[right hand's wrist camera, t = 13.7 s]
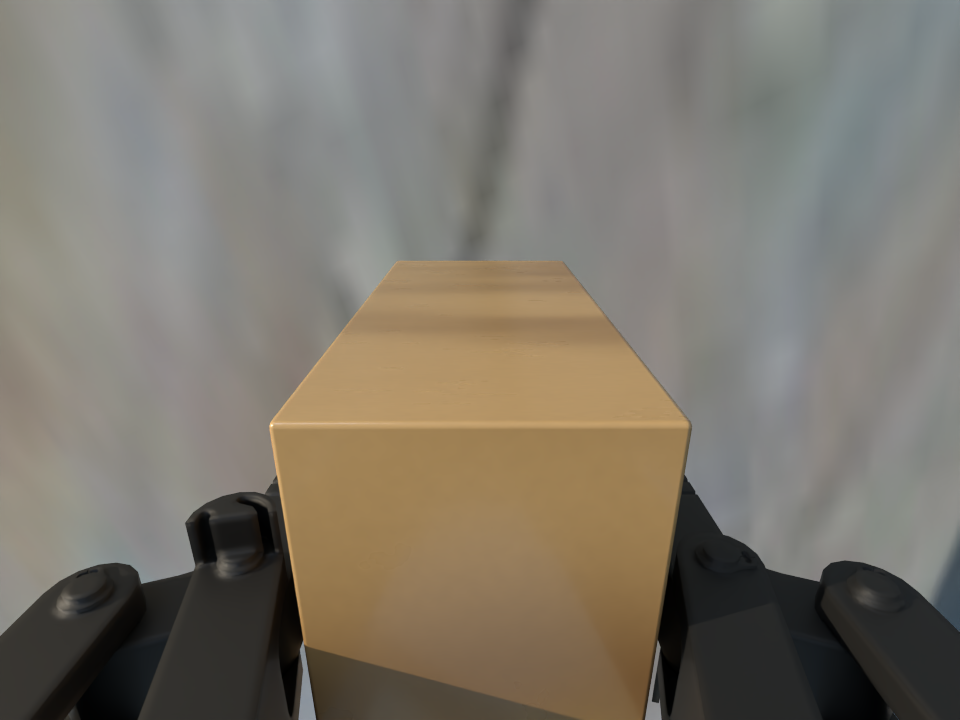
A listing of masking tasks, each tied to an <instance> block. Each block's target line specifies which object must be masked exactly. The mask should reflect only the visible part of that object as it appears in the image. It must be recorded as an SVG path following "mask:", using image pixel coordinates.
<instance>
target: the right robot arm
mask: <svg viewBox="0 0 960 720" xmlns="http://www.w3.org/2000/svg"><path fill="white" fill-rule="evenodd" d="M185 524H186V528H187V532H188V536H189V541H190V545H191V549H192V553H193V557H194V561H195V565H196V566H195V569H194V571H192V572H189V573H186V574H182V575H179V576H175V577H170V578H166V579H161V580H157V581H152V582H148V583H144V584H141V581H140V578H139V574H138V572H137V571H136V570H135V569H134V568H133V567H132V566H130V565H126V564H121V563H110V564H101V565H96V566H93V567H90V568H87V569H84V570H81V571H78V572H76V573H74V574H73V575H71V576H69V577H67V578H65V579H63V580H61V581H59V582H58V583H57V584H55V585H54V586H53V587H52V588H50V589H49V590H48V591H46V592H45V593H44V594H43V595H42V596H41V597H40V598H39V599H38V600H37V601H36V602H35V603H34V604H33V605H32V606H31V607H29V608H28V609H27V610H26V611H25V612H24V613H23V614H22V615H21V616H20V617H19V618H18V619H17V620H16V621H15V622H14V623H13V624H12V625H11V626H10V627H9V628H8V629H7V630H6V631H5V632H4V633H3V634H2V635H1V636H0V720H64V719H65V720H298V718H299V707H300V696H301V685H302V674H303V667H302V661H301V655H300V647H301V645H302V642H303V634H302V628H301V621H300V615H299V609H298V603H297V596H296V590H295V584H294V578H293V572H292V565H291V559H290V553H289V547H288V540H287V534H286V528H285V522H284V516H283V509H282V503H281V497H280V491H279V484H278V478H277V476H276V477H275V479H274V480H273V484H271V485H270V487H269V488H268V490H267V491H266V493H265V495H264V494H261V493H257V492H239V493H235V494H230V495H226V496H222V497H220V498H217V499H215V500H213V501H210V502H208V503H206V504H205V505H203V506H202V507H200V508H199V509H197V510H196V511H195V512H193V514H192V515H191V516H190V517H189V519H188V520H187V521H186V523H185ZM658 641H659V644H660V647H661V648H660V655H659V661H658V667H657V673H656V679H655V685H654V691H653V697H652V702H657V703H659V698H660V706H661V716H662V720H898V719H899V720H960V632H959V631H958V630H957V629H956V628H955V627H954V626H953V625H952V624H951V623H950V622H949V621H948V620H947V619H945V618H944V617H943V616H942V615H941V614H940V613H939V612H938V611H937V610H936V609H935V608H934V607H933V606H932V605H931V604H930V603H929V602H928V601H927V600H926V599H925V598H924V597H923V596H922V595H921V594H920V593H919V592H918V591H916V590H915V589H914V588H913V587H911V586H910V585H909V584H907V583H906V582H905V581H904V580H902V579H901V578H899V577H897V576H895V575H893V574H891V573H889V572H887V571H885V570H883V569H881V568H878V567H875V566H871V565H868V564H865V563H861V562H852V561H840V562H834V563H830V564H829V565H828V566H827V567H826V568H825V569H824V570H823V572H822V576H821V579H820V582H818V581H813V580H809V579H804V578H800V577H795V576H791V575H786V574H782V573H779V572H775V571H772V570H768V569H766V568H765V566H764V564H763V562H762V561H761V559H760V558H759V556H758V555H757V554H756V553H755V552H754V551H753V550H751V549H750V548H749V547H748V546H746V545H745V544H744V543H741V542H739V541H737V540H735V539H733V538H731V537H729V536H725V535H723V534H722V532H721V531H720V529H719V528H718V526H717V525H716V523H715V521H714V520H713V518H712V517H711V515H710V514H709V512H708V511H707V509H706V507H705V506H704V504H703V503H702V501H701V500H700V498H699V497H698V495H696V494H695V490H694V489H693V487H692V486H691V484H690V483H689V482H688V481H687V478H686V476H685V475H684V480H683V486H682V492H681V498H680V504H679V511H678V517H677V523H676V529H675V535H674V542H673V548H672V554H671V560H670V566H669V573H668V579H667V585H666V591H665V597H664V604H663V610H662V616H661V622H660V628H659V634H658ZM893 712H894V713H893ZM894 714H895V715H896V716H897V717H896V716H895V715H894ZM67 715H68V716H67ZM897 718H898V719H897Z"/></svg>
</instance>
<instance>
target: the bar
mask: <svg viewBox="0 0 960 720" xmlns="http://www.w3.org/2000/svg"><path fill="white" fill-rule="evenodd" d="M269 428H270V435H271V441H272V447H273V453H274V460H275V466H276V472H277V478H278V484H279V491H280V497H281V503H282V509H283V516H284V522H285V528H286V534H287V540H288V547H289V553H290V559H291V565H292V572H293V578H294V584H295V590H296V596H297V603H298V609H299V615H300V621H301V628H302V634H303V640H304V646H305V652H306V659H307V665H308V671H309V677H310V684H311V690H312V696H313V702H314V708H315V715H316V720H645V715H646V709H647V703H648V696H649V690H650V684H651V678H652V672H653V665H654V659H655V653H656V647H657V641H658V634H659V628H660V622H661V616H662V610H663V604H664V597H665V591H666V585H667V579H668V573H669V566H670V560H671V554H672V548H673V542H674V535H675V529H676V523H677V517H678V511H679V504H680V498H681V492H682V486H683V480H684V473H685V467H686V461H687V455H688V449H689V442H690V436H691V430H692V425H691V422H690V420H689V419H688V418H687V417H686V415H685V414H684V413H683V411H682V410H681V409H680V408H679V406H678V405H677V404H676V403H675V401H674V400H673V399H672V398H671V396H670V395H669V394H668V393H667V391H666V390H665V389H664V388H663V386H662V385H661V384H660V383H659V381H658V380H657V379H656V378H655V376H654V375H653V374H652V373H651V371H650V370H649V369H648V368H647V366H646V365H645V364H644V363H643V361H642V360H641V359H640V357H639V356H638V355H637V354H636V352H635V351H634V350H633V349H632V347H631V346H630V345H629V344H628V342H627V341H626V340H625V339H624V337H623V336H622V335H621V334H620V332H619V331H618V330H617V329H616V327H615V326H614V325H613V324H612V322H611V321H610V320H609V319H608V317H607V316H606V315H605V314H604V312H603V311H602V310H601V309H600V307H599V306H598V305H597V304H596V302H595V301H594V300H593V298H592V297H591V296H590V295H589V293H588V292H587V291H586V290H585V288H584V287H583V286H582V285H581V283H580V282H579V281H578V280H577V278H576V277H575V276H574V275H573V273H572V272H571V271H570V270H569V268H568V267H567V266H566V265H565V263H564V262H563V261H397V262H396V263H395V264H394V266H393V267H392V268H391V270H390V271H389V272H388V273H387V275H386V276H385V277H384V278H383V280H382V281H381V282H380V284H379V285H378V286H377V287H376V289H375V290H374V291H373V292H372V294H371V295H370V296H369V297H368V299H367V300H366V301H365V303H364V304H363V305H362V306H361V308H360V309H359V310H358V311H357V313H356V314H355V315H354V317H353V318H352V319H351V320H350V322H349V323H348V324H347V325H346V327H345V328H344V329H343V331H342V332H341V333H340V334H339V336H338V337H337V338H336V339H335V341H334V342H333V343H332V345H331V346H330V347H329V348H328V350H327V351H326V352H325V353H324V355H323V356H322V357H321V359H320V360H319V361H318V362H317V364H316V365H315V366H314V367H313V369H312V370H311V371H310V373H309V374H308V375H307V376H306V378H305V379H304V380H303V381H302V383H301V384H300V385H299V387H298V388H297V389H296V390H295V392H294V393H293V394H292V395H291V397H290V398H289V399H288V401H287V402H286V403H285V404H284V406H283V407H282V408H281V409H280V411H279V412H278V413H277V415H276V416H275V417H274V418H273V420H272V421H271V423H270V426H269Z"/></svg>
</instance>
